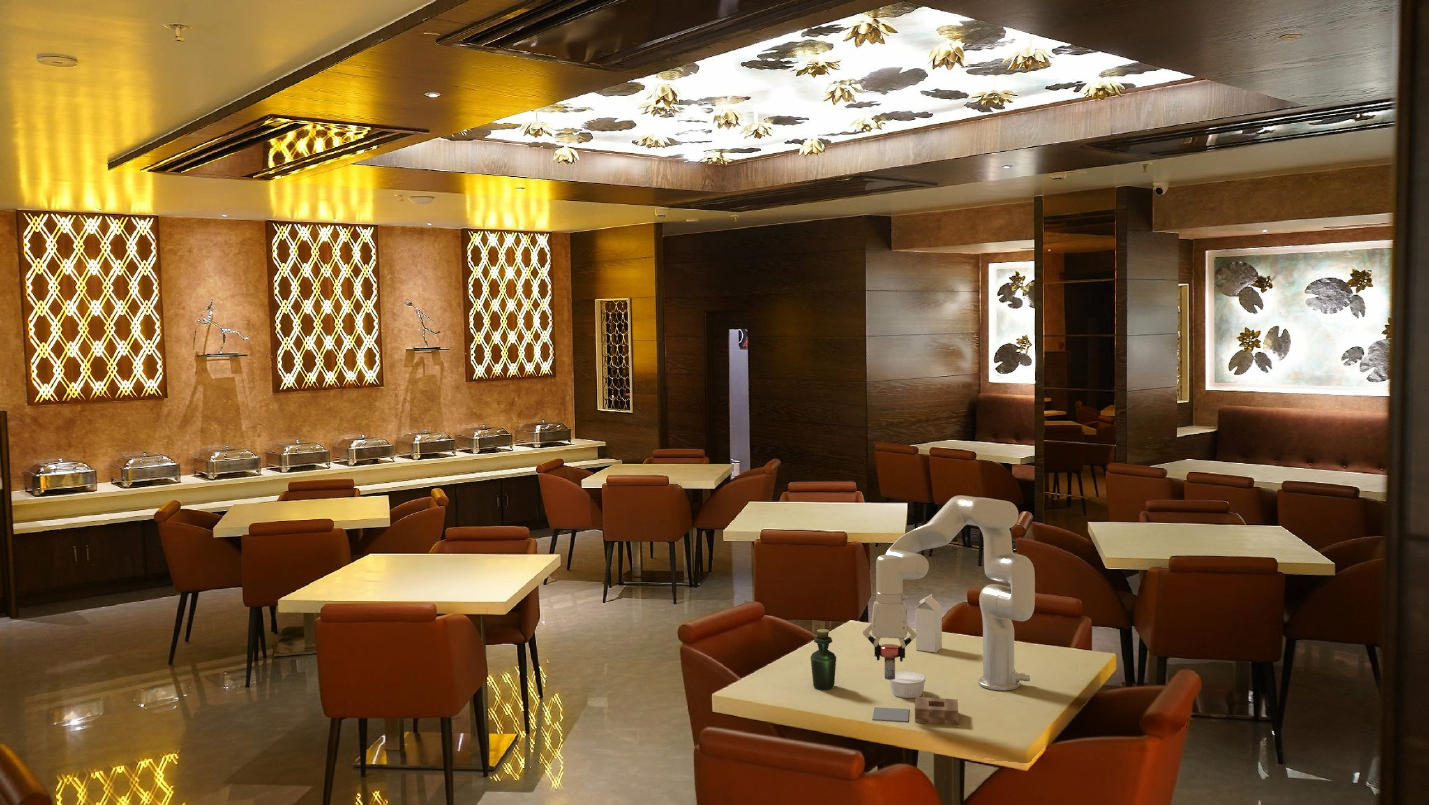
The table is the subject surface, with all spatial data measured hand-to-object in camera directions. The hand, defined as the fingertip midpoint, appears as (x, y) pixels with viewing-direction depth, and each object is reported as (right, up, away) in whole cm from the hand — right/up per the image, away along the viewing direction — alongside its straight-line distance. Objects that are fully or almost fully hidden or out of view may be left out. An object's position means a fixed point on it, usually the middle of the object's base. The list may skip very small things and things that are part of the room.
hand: (889, 659), depth 297 cm
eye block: (+13, -16, -2) cm, 21 cm away
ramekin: (+9, -16, +19) cm, 27 cm away
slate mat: (0, -16, +1) cm, 16 cm away
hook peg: (0, -6, 0) cm, 6 cm away
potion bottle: (-16, -16, +27) cm, 35 cm away
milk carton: (+25, -13, +66) cm, 72 cm away
